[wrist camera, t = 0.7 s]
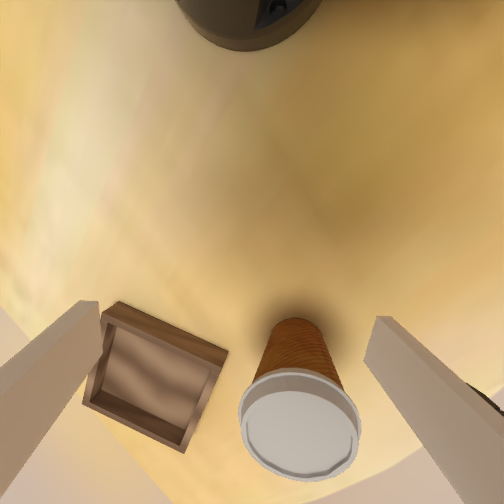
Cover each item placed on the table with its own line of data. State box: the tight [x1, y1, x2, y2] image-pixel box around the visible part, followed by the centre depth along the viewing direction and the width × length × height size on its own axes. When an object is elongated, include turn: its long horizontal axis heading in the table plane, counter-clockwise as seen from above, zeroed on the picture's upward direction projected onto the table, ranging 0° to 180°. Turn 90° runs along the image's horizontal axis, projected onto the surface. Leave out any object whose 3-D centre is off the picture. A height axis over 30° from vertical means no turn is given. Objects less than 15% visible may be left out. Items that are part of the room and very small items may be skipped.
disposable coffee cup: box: [238, 318, 361, 482], centre depth 24 cm, size 10×10×12 cm
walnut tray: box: [82, 302, 228, 454], centre depth 33 cm, size 16×16×3 cm
